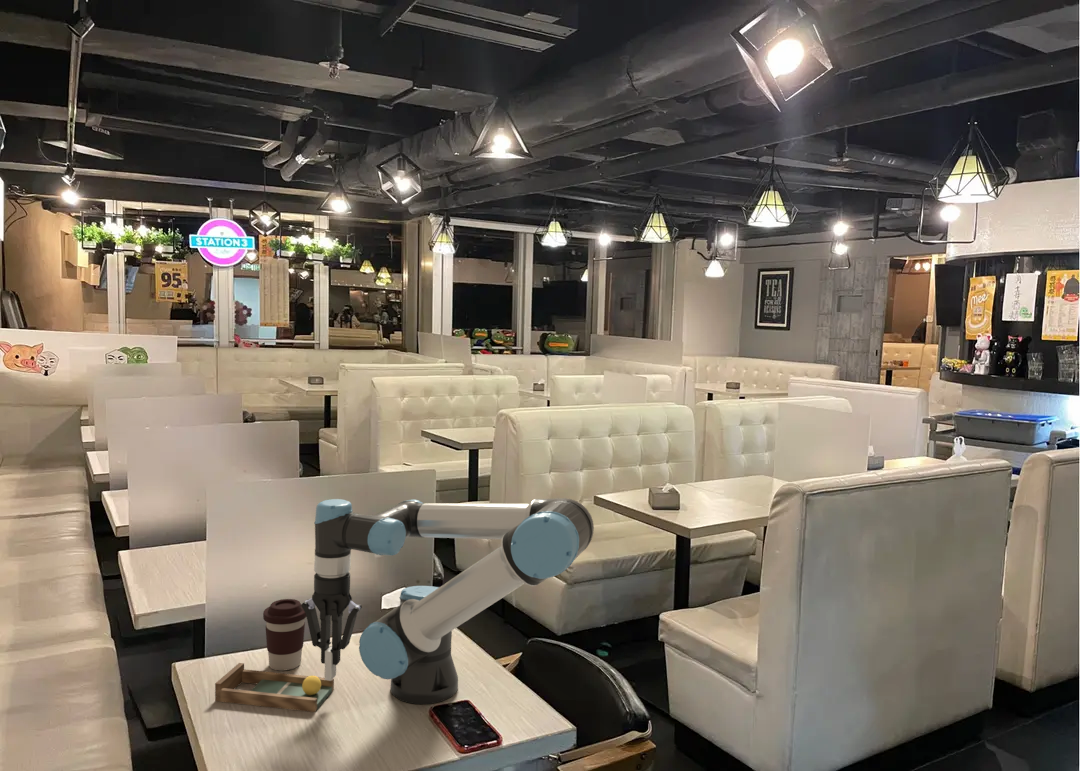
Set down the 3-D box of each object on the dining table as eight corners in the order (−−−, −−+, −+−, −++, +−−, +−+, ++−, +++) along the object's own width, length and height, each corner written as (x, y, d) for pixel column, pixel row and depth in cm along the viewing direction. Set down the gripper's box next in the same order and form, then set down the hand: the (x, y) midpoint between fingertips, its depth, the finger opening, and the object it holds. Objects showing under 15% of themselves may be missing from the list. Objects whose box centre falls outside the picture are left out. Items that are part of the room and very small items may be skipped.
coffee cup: (275, 653, 193) (275, 594, 192) (313, 657, 192) (314, 598, 190) (255, 671, 183) (255, 609, 182) (295, 676, 182) (296, 613, 181)
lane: (333, 689, 176) (333, 672, 176) (315, 712, 166) (315, 694, 166) (239, 679, 179) (239, 662, 179) (215, 701, 169) (215, 683, 169)
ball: (324, 690, 173) (324, 673, 173) (316, 699, 169) (316, 681, 169) (306, 688, 174) (307, 671, 173) (298, 697, 170) (299, 679, 170)
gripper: (367, 569, 171) (365, 673, 174) (310, 563, 173) (309, 666, 175) (355, 581, 164) (352, 689, 166) (295, 575, 165) (294, 682, 168)
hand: (330, 677), depth 171 cm, fingers closed
